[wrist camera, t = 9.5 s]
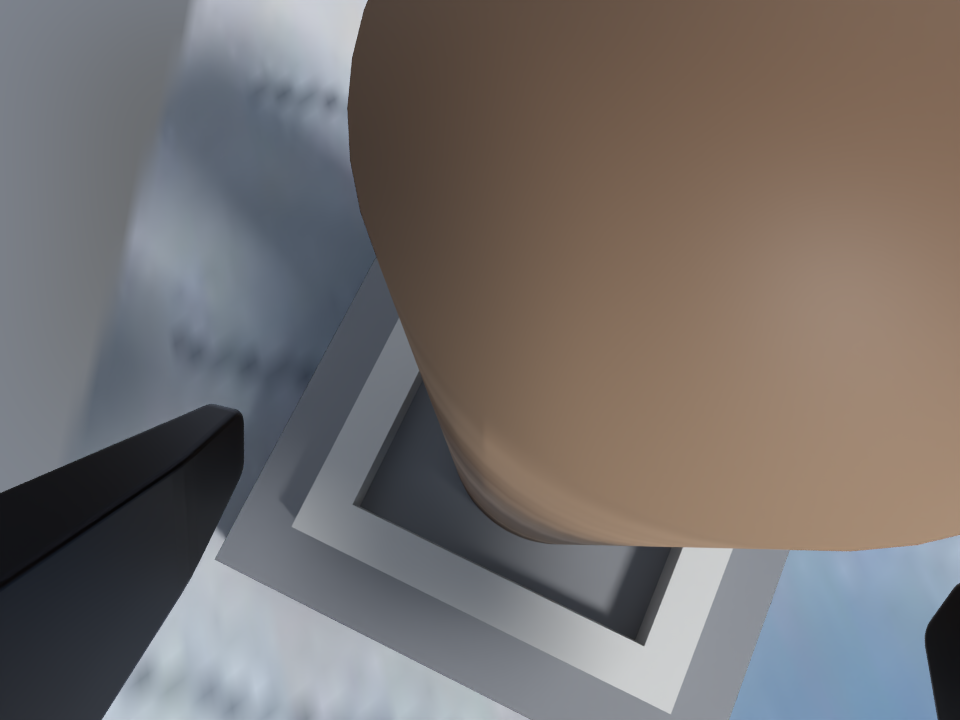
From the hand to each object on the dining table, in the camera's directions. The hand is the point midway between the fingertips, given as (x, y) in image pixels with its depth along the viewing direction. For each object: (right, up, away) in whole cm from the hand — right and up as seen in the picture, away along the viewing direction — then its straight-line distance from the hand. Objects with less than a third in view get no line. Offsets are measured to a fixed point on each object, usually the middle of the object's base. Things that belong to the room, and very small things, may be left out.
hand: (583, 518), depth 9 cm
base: (+1, 0, +10) cm, 11 cm away
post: (+1, 0, +9) cm, 9 cm away
